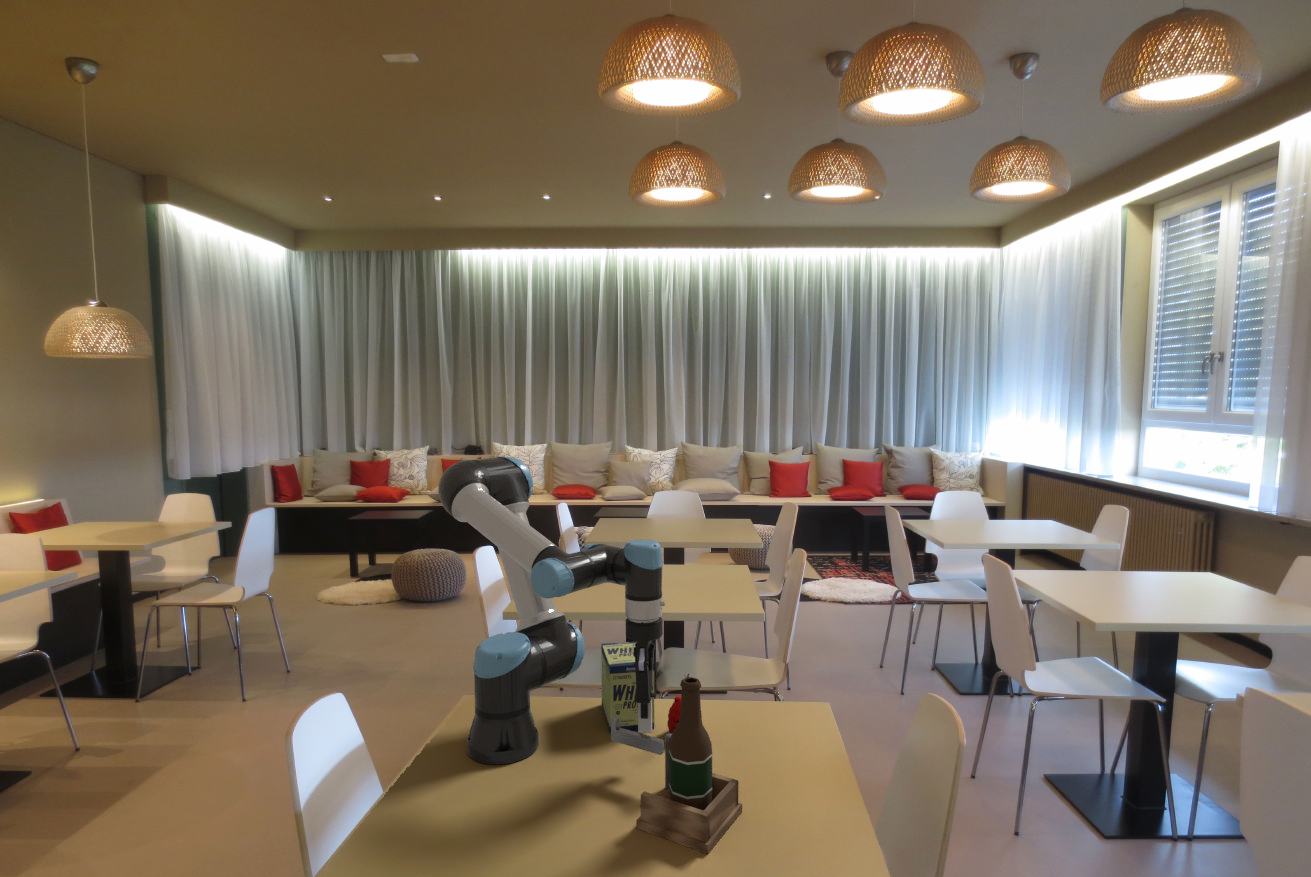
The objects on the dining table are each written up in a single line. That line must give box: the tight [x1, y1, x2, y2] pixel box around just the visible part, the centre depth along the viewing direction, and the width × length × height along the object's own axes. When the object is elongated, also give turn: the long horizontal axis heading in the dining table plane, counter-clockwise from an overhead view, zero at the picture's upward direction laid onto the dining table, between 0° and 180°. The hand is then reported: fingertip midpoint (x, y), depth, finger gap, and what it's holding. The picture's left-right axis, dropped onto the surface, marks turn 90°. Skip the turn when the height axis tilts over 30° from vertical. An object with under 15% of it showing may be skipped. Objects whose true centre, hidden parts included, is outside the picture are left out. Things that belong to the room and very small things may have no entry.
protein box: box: [600, 641, 655, 734], centre depth 169 cm, size 10×16×16 cm
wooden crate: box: [635, 732, 743, 855], centre depth 129 cm, size 16×15×10 cm
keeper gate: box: [610, 716, 665, 756], centre depth 141 cm, size 12×1×4 cm, turn 60°
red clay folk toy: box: [667, 673, 703, 734], centre depth 160 cm, size 8×7×15 cm
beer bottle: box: [669, 676, 713, 811], centre depth 127 cm, size 8×8×24 cm
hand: (645, 731), depth 146 cm, fingers closed
